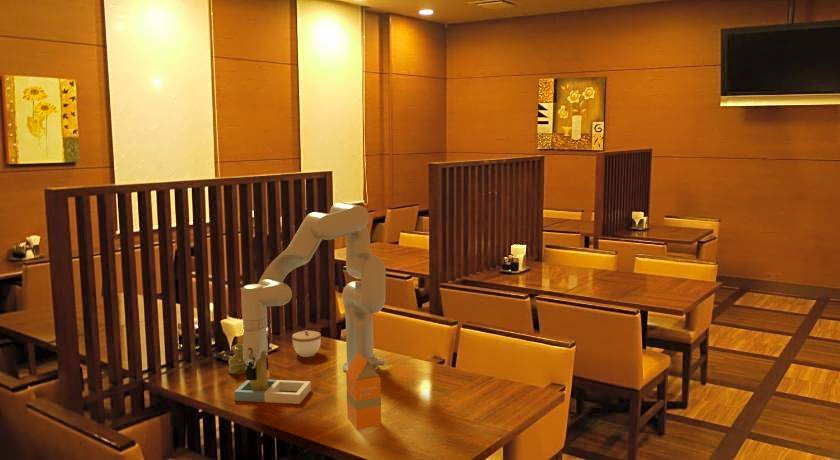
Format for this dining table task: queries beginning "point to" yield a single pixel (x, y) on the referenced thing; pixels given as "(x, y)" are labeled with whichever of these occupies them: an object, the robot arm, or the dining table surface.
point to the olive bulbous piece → (237, 361)
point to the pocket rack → (275, 392)
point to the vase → (260, 375)
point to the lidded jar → (306, 342)
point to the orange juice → (363, 394)
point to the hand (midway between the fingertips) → (257, 374)
